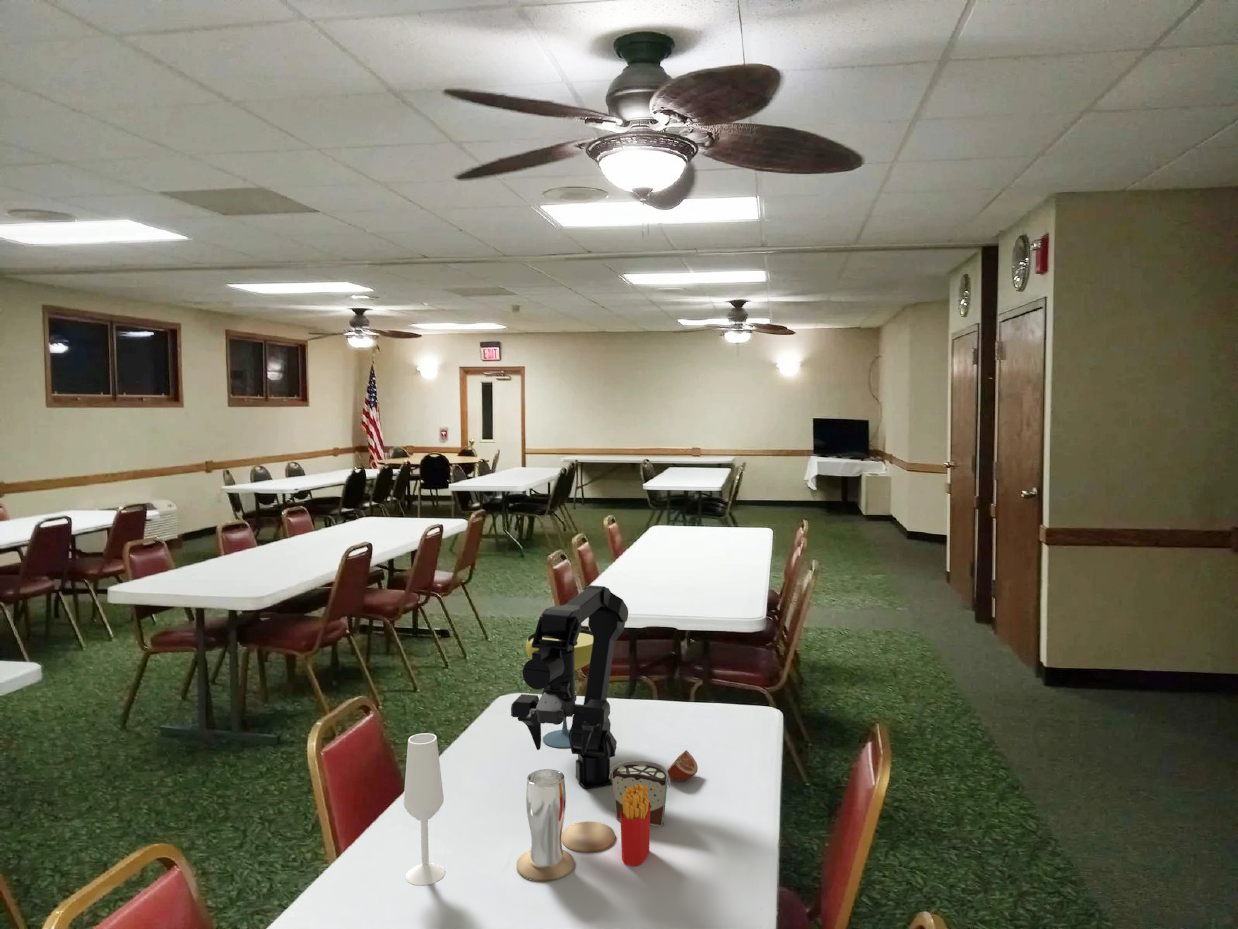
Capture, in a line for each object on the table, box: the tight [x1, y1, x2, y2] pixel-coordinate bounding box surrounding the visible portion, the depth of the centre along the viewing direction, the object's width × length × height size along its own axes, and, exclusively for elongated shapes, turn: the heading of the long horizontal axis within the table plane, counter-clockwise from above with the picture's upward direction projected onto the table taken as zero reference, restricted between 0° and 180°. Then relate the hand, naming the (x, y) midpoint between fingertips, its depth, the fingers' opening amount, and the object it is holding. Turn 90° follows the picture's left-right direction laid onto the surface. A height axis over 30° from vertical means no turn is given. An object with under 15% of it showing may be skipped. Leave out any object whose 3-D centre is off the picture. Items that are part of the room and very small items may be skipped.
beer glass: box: [525, 768, 567, 869], centre depth 146 cm, size 7×7×15 cm
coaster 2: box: [561, 821, 616, 853], centre depth 155 cm, size 10×10×1 cm
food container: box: [609, 760, 672, 828], centre depth 163 cm, size 12×6×10 cm, turn 71°
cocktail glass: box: [525, 628, 593, 749], centre depth 200 cm, size 18×18×25 cm
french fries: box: [619, 784, 651, 867], centre depth 148 cm, size 8×4×12 cm, turn 157°
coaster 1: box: [516, 849, 575, 882], centre depth 146 cm, size 10×10×1 cm
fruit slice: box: [666, 749, 698, 782], centre depth 179 cm, size 8×7×5 cm
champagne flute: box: [403, 732, 446, 886], centre depth 142 cm, size 7×7×24 cm
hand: (561, 751), depth 162 cm, fingers open, 9 cm apart
